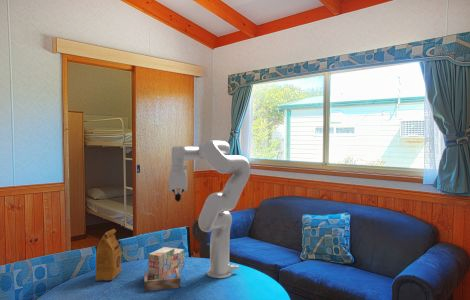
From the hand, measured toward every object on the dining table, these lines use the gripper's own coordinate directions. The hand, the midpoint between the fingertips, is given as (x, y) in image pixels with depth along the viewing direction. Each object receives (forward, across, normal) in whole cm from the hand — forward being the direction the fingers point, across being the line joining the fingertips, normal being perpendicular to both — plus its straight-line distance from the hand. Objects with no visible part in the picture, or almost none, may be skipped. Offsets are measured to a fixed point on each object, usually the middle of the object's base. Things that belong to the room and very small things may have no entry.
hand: (177, 201), depth 187 cm
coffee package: (+32, +34, +20) cm, 51 cm away
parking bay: (+32, +10, +34) cm, 48 cm away
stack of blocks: (+32, +7, +21) cm, 39 cm away
